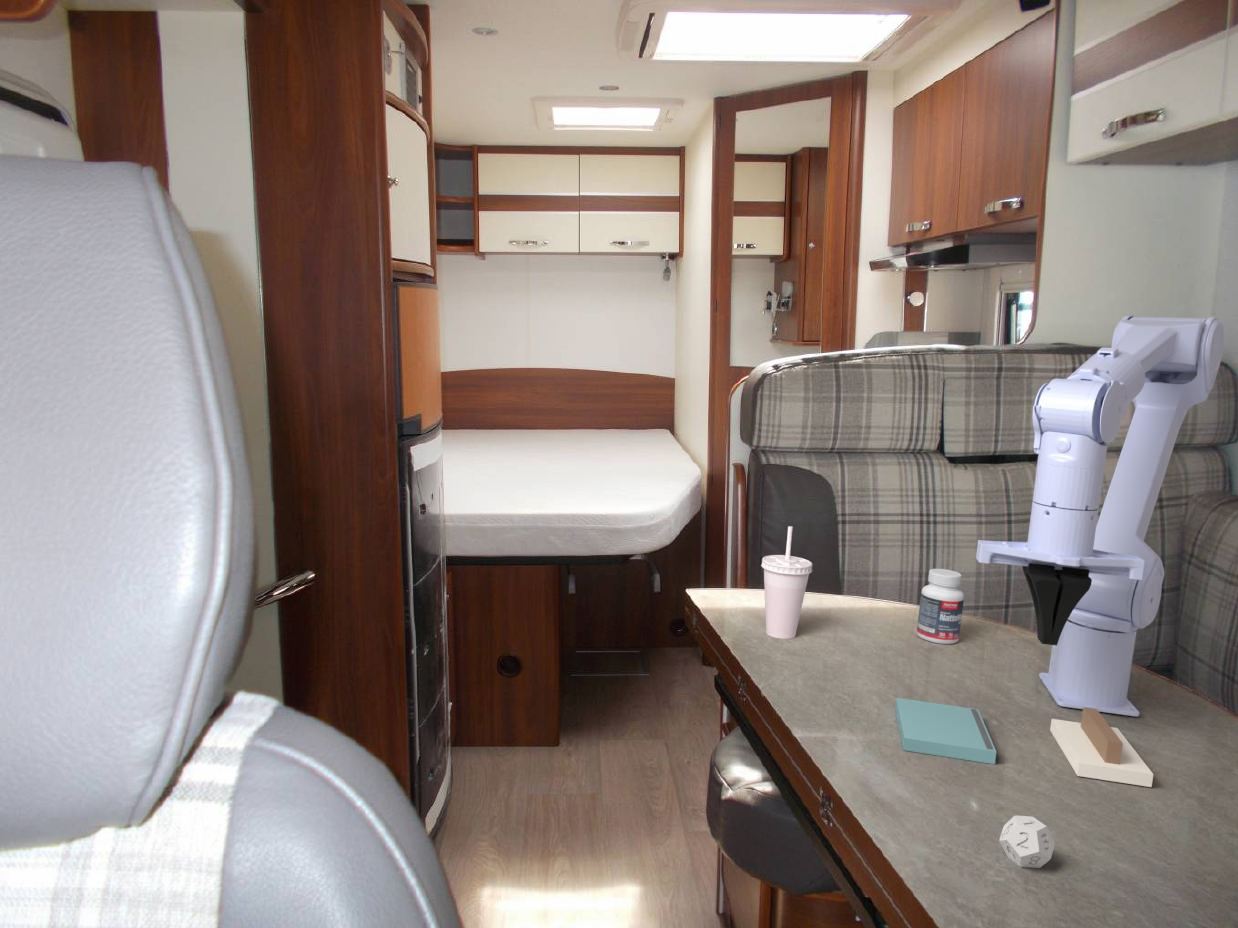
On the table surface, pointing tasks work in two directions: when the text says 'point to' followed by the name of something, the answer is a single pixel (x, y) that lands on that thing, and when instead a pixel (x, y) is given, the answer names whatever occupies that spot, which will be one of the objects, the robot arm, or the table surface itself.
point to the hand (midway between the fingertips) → (1047, 641)
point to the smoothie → (784, 591)
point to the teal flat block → (944, 731)
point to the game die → (1027, 841)
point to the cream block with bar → (1100, 750)
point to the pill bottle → (941, 607)
